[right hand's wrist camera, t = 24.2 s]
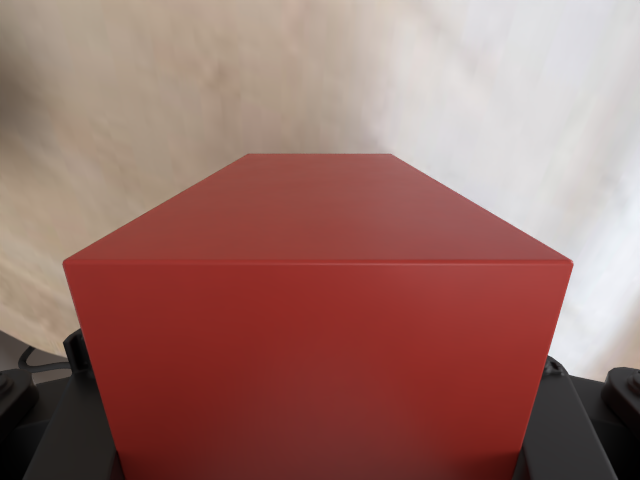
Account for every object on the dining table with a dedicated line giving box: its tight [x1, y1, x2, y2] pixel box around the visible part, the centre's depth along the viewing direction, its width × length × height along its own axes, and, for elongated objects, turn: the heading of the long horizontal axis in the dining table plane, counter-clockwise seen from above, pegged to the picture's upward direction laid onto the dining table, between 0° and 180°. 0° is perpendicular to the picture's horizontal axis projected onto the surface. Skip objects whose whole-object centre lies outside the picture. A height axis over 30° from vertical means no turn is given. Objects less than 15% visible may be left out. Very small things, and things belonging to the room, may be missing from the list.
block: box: [63, 154, 573, 480], centre depth 11 cm, size 9×6×12 cm
